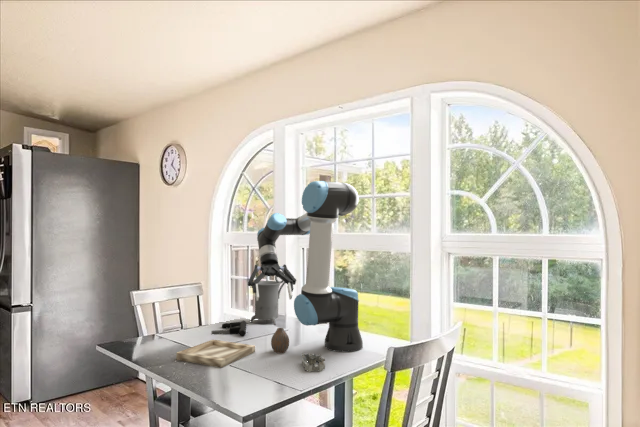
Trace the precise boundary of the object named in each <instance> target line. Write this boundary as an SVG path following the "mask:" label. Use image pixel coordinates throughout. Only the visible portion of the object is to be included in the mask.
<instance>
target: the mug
mask: <svg viewBox="0 0 640 427" xmlns="http://www.w3.org/2000/svg"><path fill="white" fill-rule="evenodd" d="M280 271H281V272H282V273H283V274H284V272H283V271H282V270H280ZM284 275H285V274H284ZM285 276H286V275H285ZM285 284H286V283H285V282H284V281H283V280H280V281H279V280H278V277H277V276H274V280H261V281H260V282H259V283H258V291H259V300H258V301H257V300H256V293H254V315H252V317H251V318H250V321H251V322H250V323H253V321H254V320H261V321H268V320H269V321H271V322H272V324H273V325H274V326H276V320H277V319H279V299H280V295H281V292H282V290H283V287H284V286H285ZM280 285H281V286H280Z"/></svg>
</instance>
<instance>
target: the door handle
mask: <svg viewBox="0 0 640 427" xmlns="http://www.w3.org/2000/svg"><path fill="white" fill-rule="evenodd" d="M248 324H249V323H248V322H246V321H245V320H242V321H238V322H237V321H236V322H226V323H225V322H224V323H222V325H221V328H222V329H216V330H215V329H214V330H211V333H210V334H211V335H212V334H214V335H239V336H240V337H244V336H246V333H247V334H248V332H247V326H249V325H248Z"/></svg>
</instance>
